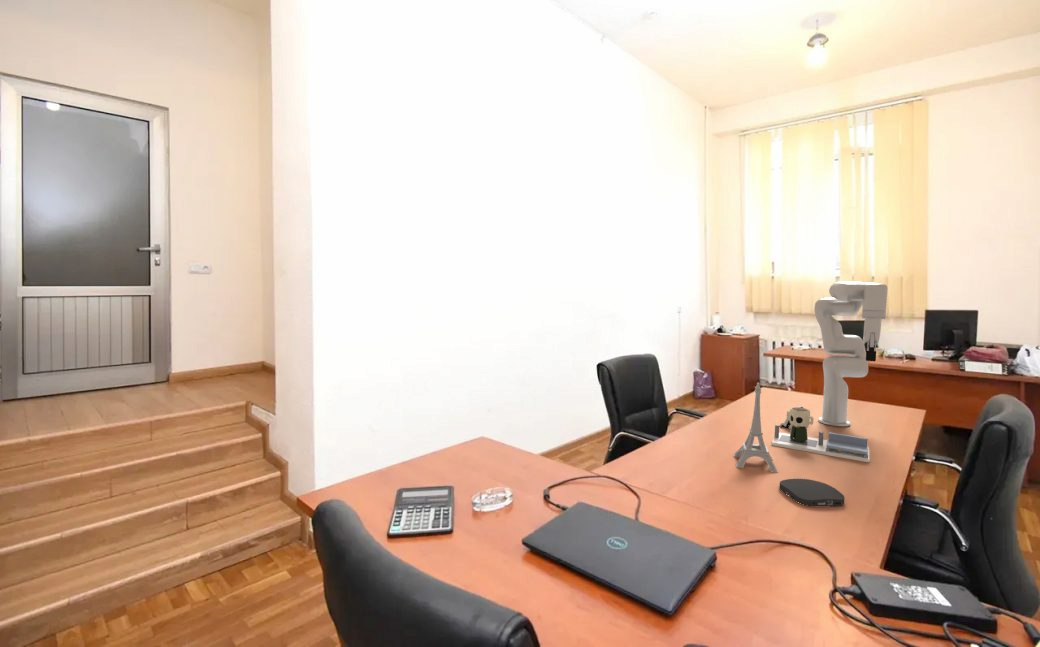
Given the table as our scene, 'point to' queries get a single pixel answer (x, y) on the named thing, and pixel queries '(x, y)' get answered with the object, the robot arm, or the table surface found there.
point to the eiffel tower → (755, 431)
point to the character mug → (799, 423)
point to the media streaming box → (812, 492)
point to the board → (815, 446)
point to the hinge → (787, 422)
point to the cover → (847, 443)
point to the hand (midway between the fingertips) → (870, 360)
